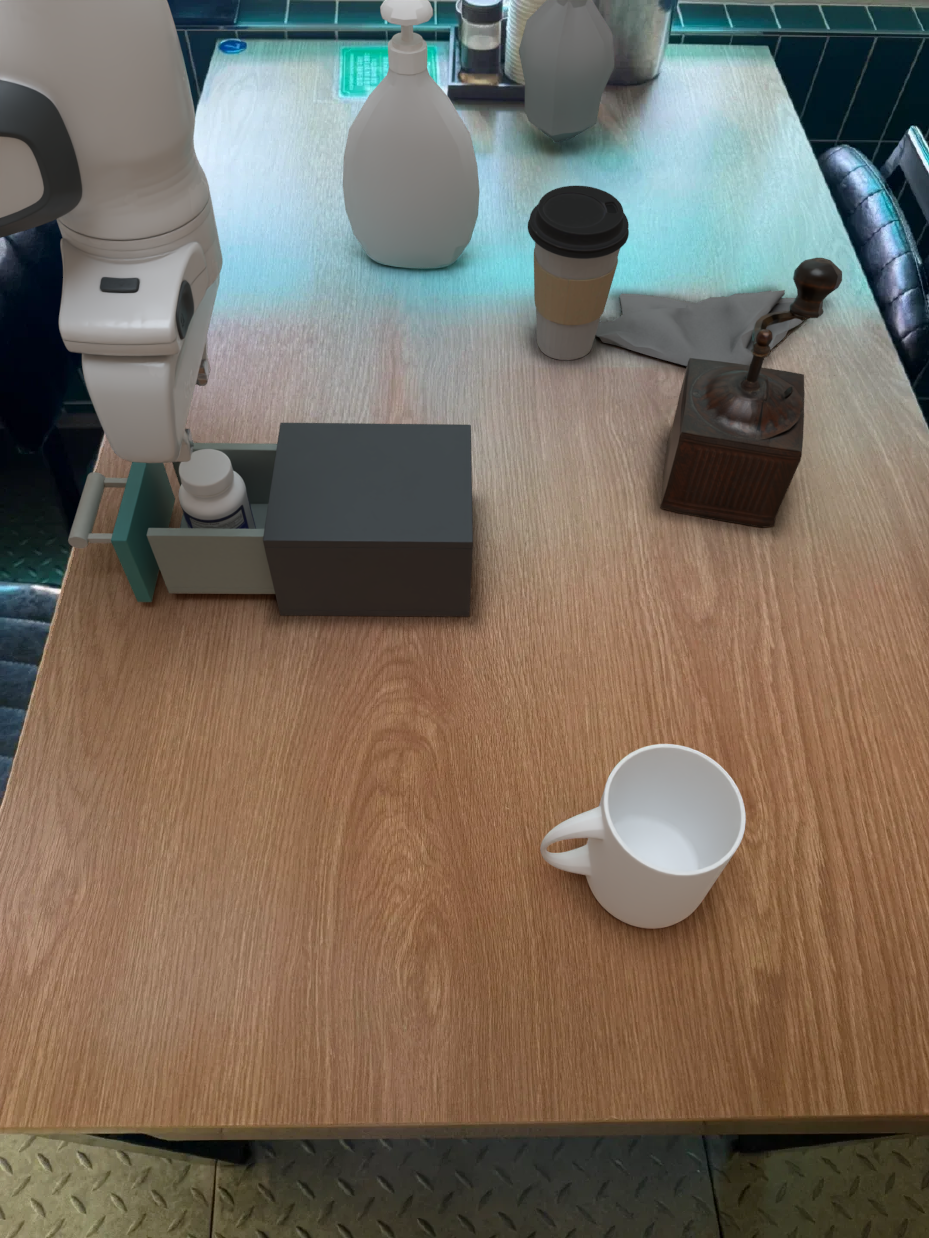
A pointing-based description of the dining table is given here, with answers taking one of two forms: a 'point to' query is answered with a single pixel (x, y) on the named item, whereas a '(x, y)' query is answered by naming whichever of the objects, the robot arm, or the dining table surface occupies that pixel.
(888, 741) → the dining table surface
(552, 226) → the coffee cup
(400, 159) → the soap bottle
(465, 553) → the drawer cabinet
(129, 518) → the teal drawer
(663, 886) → the mug
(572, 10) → the bottle
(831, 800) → the dining table surface
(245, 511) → the pill bottle
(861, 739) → the dining table surface
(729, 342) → the cloth
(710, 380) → the manual coffee grinder
